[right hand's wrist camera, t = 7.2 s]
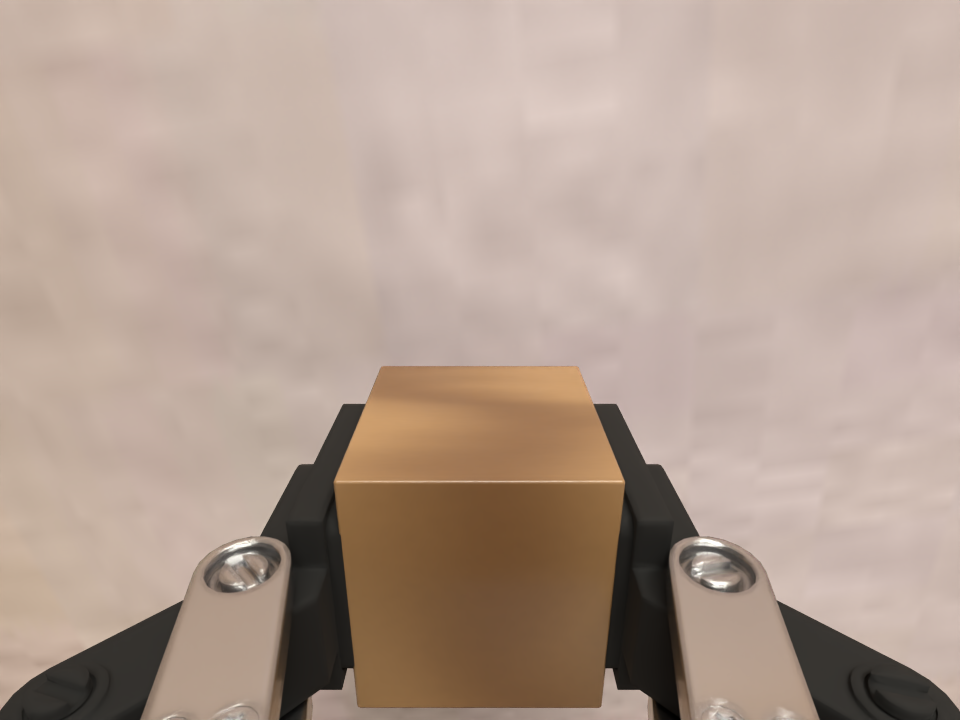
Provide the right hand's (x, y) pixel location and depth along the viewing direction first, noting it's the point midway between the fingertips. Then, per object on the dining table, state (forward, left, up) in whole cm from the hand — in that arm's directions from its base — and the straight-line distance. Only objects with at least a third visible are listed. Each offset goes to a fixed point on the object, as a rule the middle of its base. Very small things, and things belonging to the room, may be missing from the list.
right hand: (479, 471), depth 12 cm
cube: (0, 0, 0) cm, 0 cm away
